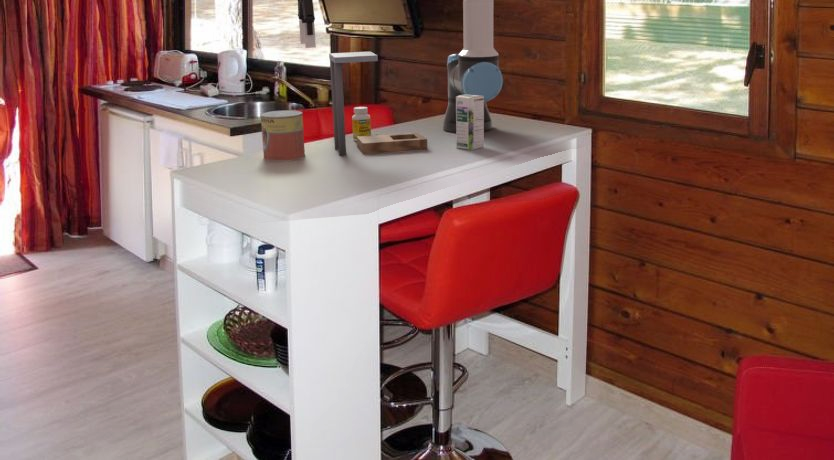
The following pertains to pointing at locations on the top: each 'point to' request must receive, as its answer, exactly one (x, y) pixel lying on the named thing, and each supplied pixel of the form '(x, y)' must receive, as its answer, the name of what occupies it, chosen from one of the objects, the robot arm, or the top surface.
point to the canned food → (282, 135)
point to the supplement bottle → (361, 122)
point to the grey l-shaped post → (337, 92)
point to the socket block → (391, 143)
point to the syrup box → (469, 122)
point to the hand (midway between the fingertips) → (308, 45)
